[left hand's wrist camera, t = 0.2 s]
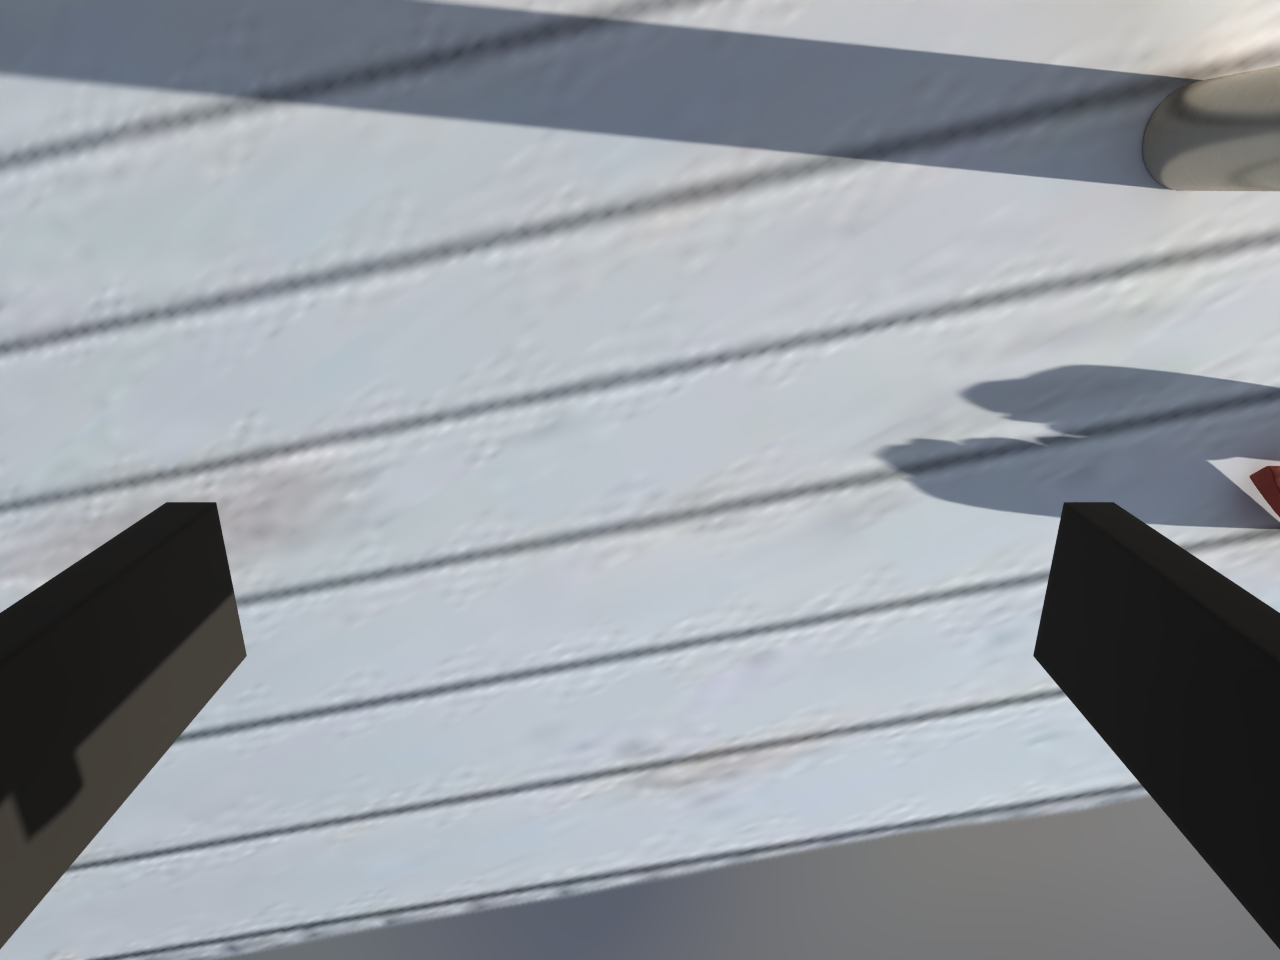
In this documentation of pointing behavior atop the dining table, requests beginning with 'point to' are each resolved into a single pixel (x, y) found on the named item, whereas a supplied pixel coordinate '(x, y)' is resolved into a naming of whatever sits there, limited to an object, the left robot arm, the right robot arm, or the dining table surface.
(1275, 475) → the dental model
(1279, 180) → the bottle
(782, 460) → the dining table surface
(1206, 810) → the left robot arm
